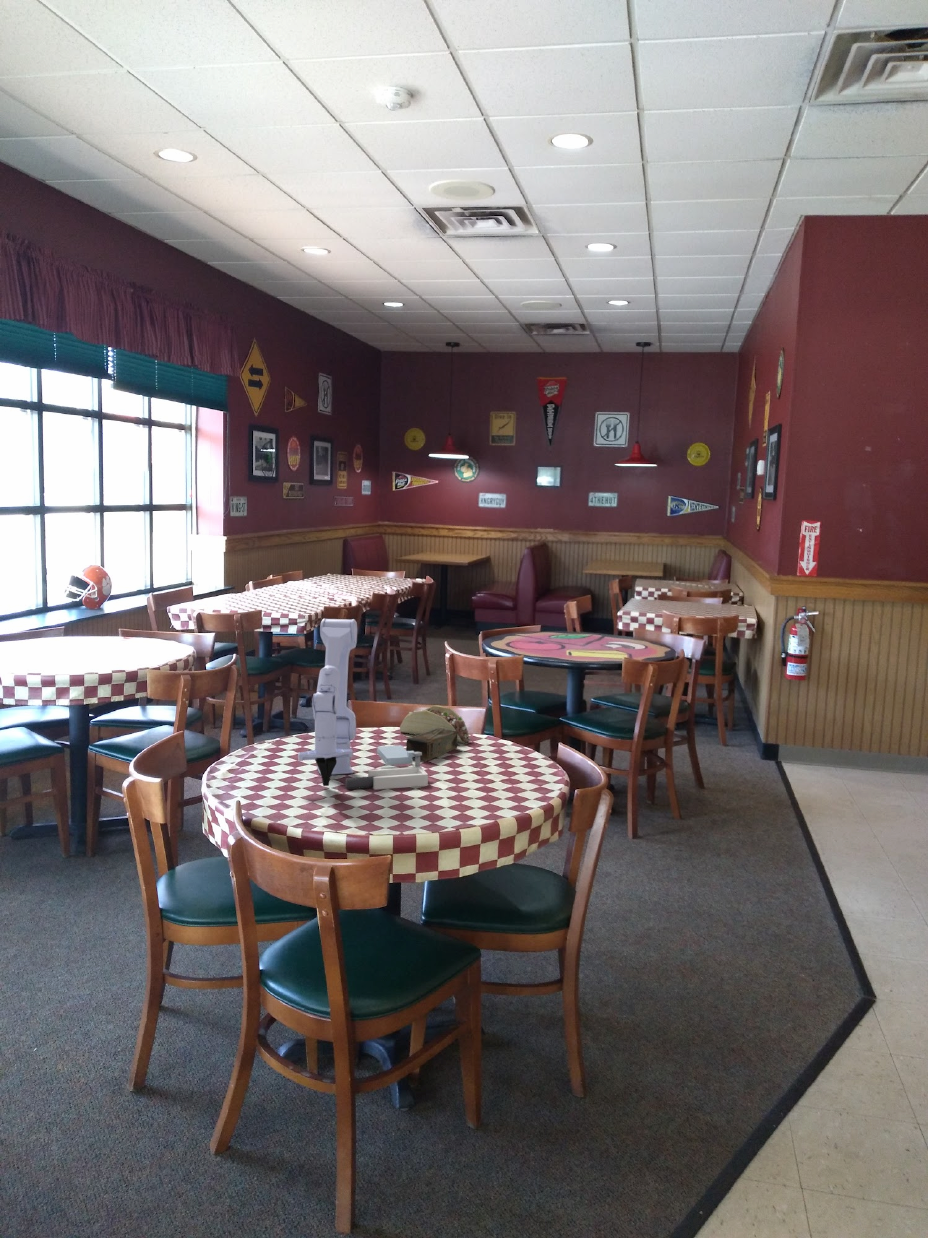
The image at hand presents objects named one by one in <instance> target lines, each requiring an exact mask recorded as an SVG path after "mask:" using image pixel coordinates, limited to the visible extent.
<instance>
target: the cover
mask: <svg viewBox="0 0 928 1238" xmlns="http://www.w3.org/2000/svg"><path fill="white" fill-rule="evenodd" d="M376 754H377V755H378V757H379V758H380V759H381V760H382V761H383V763H384V765H386V766H396V765H397V766H398V765H413V759H412V757H415V756H421V755H422V752H414V751H406V748H405V747H404V746H403V745H402V744H401V745H400V744H399V745H386V746H381V745H380V746H376Z"/></svg>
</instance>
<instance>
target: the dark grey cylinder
mask: <svg viewBox="0 0 928 1238" xmlns="http://www.w3.org/2000/svg"><path fill="white" fill-rule="evenodd" d="M373 777H376V776H371V777H368V776H361V777H360V776H358V777H347V778H345V789H346V790H355V789H356V790H357V789H368V788H369V789H370V788H372V789H373Z"/></svg>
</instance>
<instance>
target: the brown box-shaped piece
mask: <svg viewBox="0 0 928 1238" xmlns="http://www.w3.org/2000/svg"><path fill="white" fill-rule="evenodd" d="M457 736H458V732H457V731H453V730H447V729H444V728H443V727H441V728H437V729H435V730H431V731H428V732H425V733H422V734H419V735H413V736H411V737H408V738H406V741H405V742H406V743H405V747H406V748H405V750H406V751H414V752H422V755H421V756H420V762H421V761H422V762H427V761H430V760H432V759H435V758H437V757H440V756H442V755H444V754H446V753H450V752H452V751H454V750H456V749H457V748H458V742H457V741H458V738H457ZM449 751H450V752H449ZM412 760H415V757H412Z"/></svg>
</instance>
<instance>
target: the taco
mask: <svg viewBox="0 0 928 1238" xmlns="http://www.w3.org/2000/svg"><path fill="white" fill-rule="evenodd" d="M431 706H432V707H431ZM431 706H430V707H429V706H428V707H427V708H425V709H422V710H413V712H412V711H409V712H408V713H407V714H406V716H405V717H404V718H403V719H402V722H401V723H400V726H399V731H400V733H403V734H408V733H409V735H413V736H416V735H419V734H422V733H425V732H428V731H431V730H435V729H437V728H441V727H443V728H444V729H447V730H453V731H457V732H458V736H457V738H458V741H457V743H460V744H466V743H469V742H470V741H471V737H470V733H469V730H468V728H467V726H466V722H465V721H464V719H463V717H462V716H460V715H459V714H458V713H457V712H456V711H455V710H453V709H451V708H449V707H445V706H441V705H431Z"/></svg>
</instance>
